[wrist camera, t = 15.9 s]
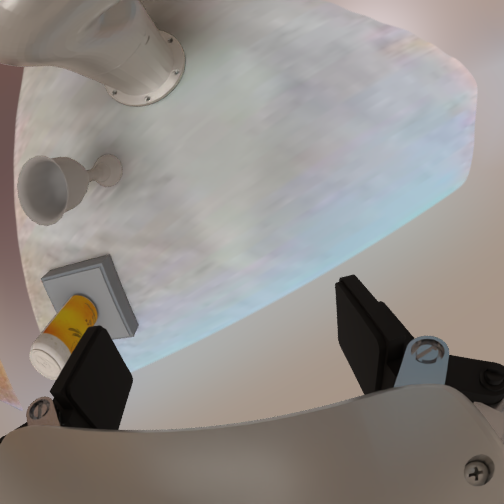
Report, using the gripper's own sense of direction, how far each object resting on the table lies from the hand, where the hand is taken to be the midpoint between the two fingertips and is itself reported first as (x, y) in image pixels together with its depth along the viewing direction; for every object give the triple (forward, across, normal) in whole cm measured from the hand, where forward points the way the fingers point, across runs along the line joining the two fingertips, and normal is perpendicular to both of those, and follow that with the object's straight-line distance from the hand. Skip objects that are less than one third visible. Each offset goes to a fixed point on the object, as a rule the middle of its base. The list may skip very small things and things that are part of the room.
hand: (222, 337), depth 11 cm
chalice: (+34, +17, -8) cm, 38 cm away
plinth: (+33, +28, +12) cm, 45 cm away
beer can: (+30, +28, +12) cm, 42 cm away
